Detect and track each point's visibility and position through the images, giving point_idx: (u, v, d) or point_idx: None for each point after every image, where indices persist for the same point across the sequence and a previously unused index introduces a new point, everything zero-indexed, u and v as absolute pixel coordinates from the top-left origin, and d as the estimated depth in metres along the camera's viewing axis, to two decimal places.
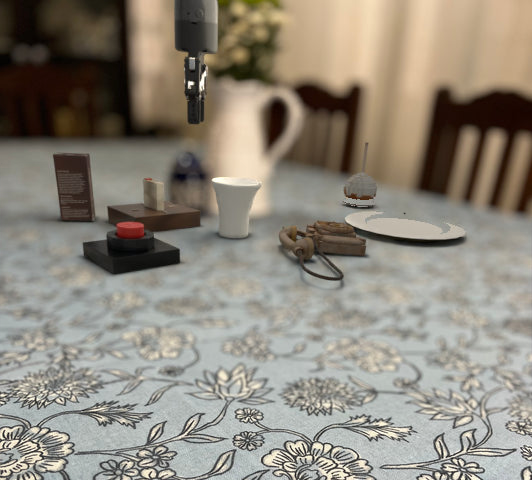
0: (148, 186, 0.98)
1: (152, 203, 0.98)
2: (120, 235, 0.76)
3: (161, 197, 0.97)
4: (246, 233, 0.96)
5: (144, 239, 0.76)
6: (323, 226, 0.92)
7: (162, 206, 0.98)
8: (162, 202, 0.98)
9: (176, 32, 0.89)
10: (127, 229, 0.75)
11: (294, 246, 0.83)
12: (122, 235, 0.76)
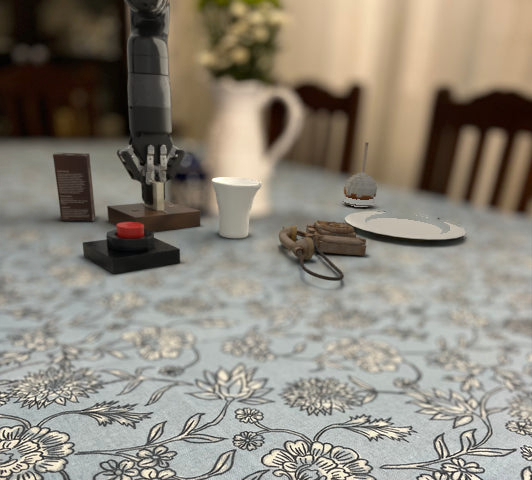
0: None
1: None
2: (120, 235, 0.76)
3: (161, 197, 0.97)
4: (246, 233, 0.96)
5: (144, 239, 0.76)
6: (323, 226, 0.92)
7: (162, 206, 0.98)
8: (162, 202, 0.98)
9: None
10: (127, 229, 0.75)
11: (294, 246, 0.83)
12: (122, 235, 0.76)
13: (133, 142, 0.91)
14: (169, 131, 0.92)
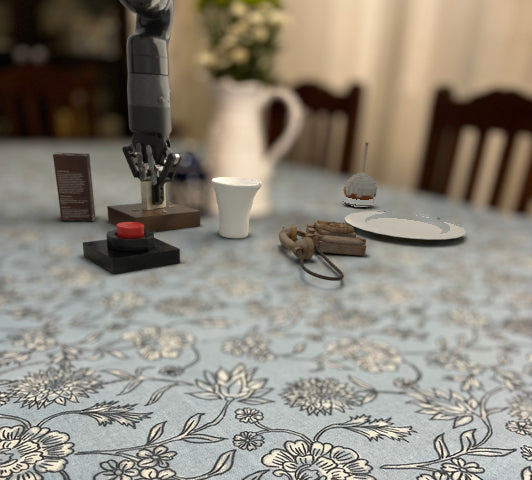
0: None
1: None
2: (120, 235, 0.76)
3: (144, 197, 0.97)
4: (246, 233, 0.96)
5: (144, 239, 0.76)
6: (323, 226, 0.92)
7: (145, 206, 0.97)
8: (145, 202, 0.97)
9: None
10: (127, 229, 0.75)
11: (294, 246, 0.83)
12: (122, 235, 0.76)
13: None
14: (145, 131, 0.90)
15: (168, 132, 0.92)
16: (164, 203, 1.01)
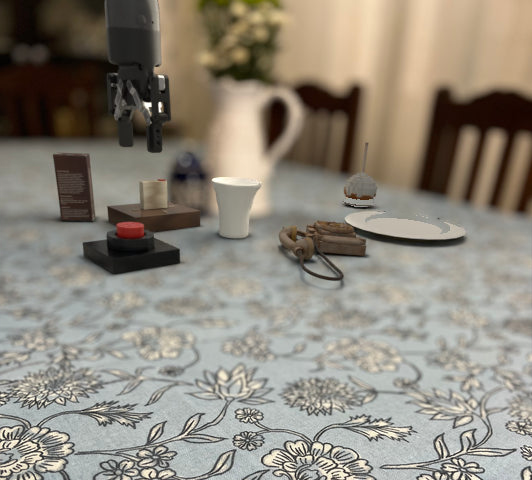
0: None
1: None
2: (120, 235, 0.76)
3: (142, 196, 0.97)
4: (246, 233, 0.96)
5: (144, 239, 0.76)
6: (323, 226, 0.92)
7: (143, 205, 0.98)
8: (142, 201, 0.97)
9: None
10: (127, 229, 0.75)
11: (294, 246, 0.83)
12: (122, 235, 0.76)
13: None
14: (122, 60, 0.72)
15: (152, 63, 0.73)
16: (165, 204, 1.00)
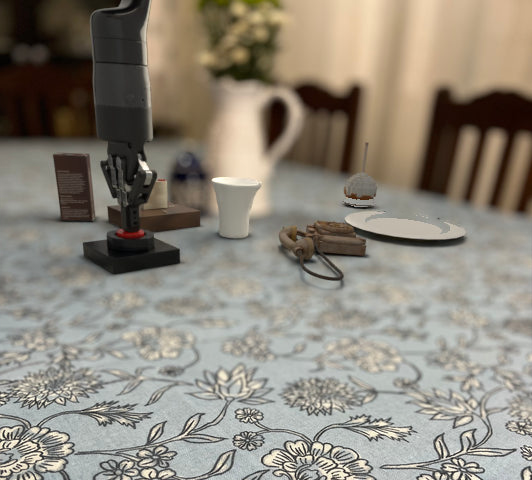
0: None
1: None
2: None
3: None
4: (246, 233, 0.96)
5: (144, 239, 0.76)
6: (323, 226, 0.92)
7: (143, 205, 0.98)
8: None
9: None
10: (127, 235, 0.76)
11: (294, 246, 0.83)
12: None
13: None
14: (110, 138, 0.69)
15: (143, 141, 0.70)
16: (165, 204, 1.00)
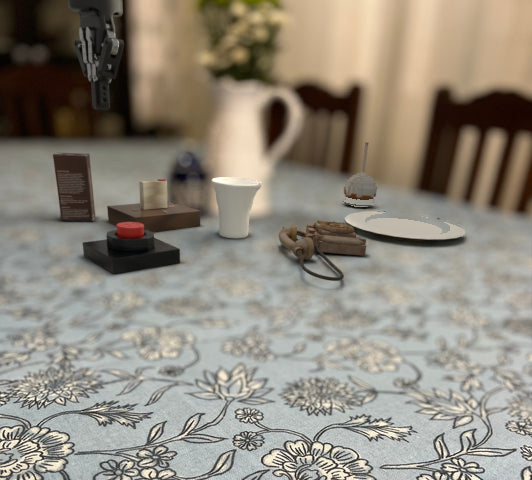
0: None
1: None
2: (120, 235, 0.76)
3: (142, 196, 0.97)
4: (246, 233, 0.96)
5: (144, 239, 0.76)
6: (323, 226, 0.92)
7: (143, 205, 0.98)
8: (142, 201, 0.97)
9: None
10: (127, 229, 0.75)
11: (294, 246, 0.83)
12: (122, 235, 0.76)
13: (80, 26, 0.78)
14: (79, 4, 0.71)
15: (111, 10, 0.72)
16: (165, 204, 1.00)
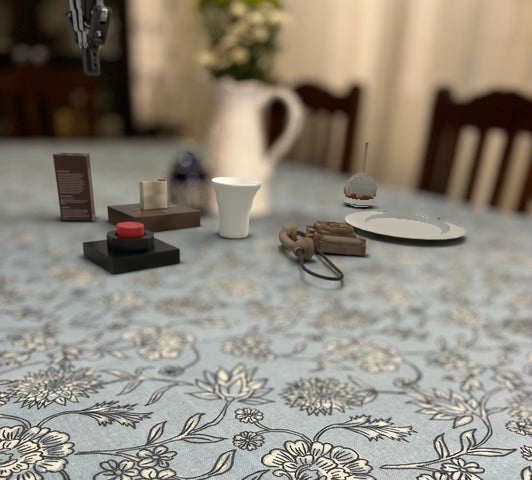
0: None
1: None
2: (120, 235, 0.76)
3: (142, 196, 0.97)
4: (246, 233, 0.96)
5: (144, 239, 0.76)
6: (323, 226, 0.92)
7: (143, 205, 0.98)
8: (142, 201, 0.97)
9: None
10: (127, 229, 0.75)
11: (294, 246, 0.83)
12: (122, 235, 0.76)
13: None
14: None
15: None
16: (165, 204, 1.00)
